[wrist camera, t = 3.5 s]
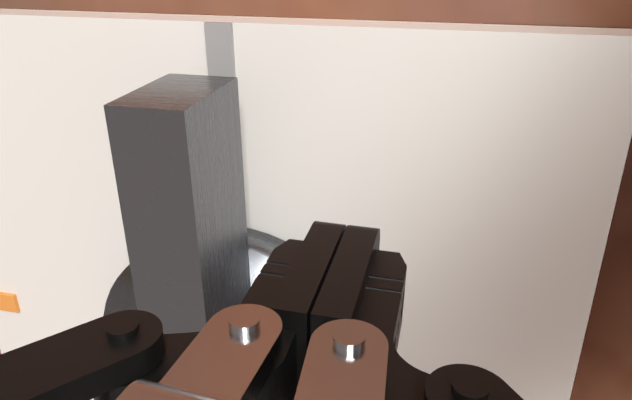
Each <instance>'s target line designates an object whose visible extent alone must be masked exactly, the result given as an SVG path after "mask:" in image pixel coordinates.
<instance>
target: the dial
mask: <svg viewBox="0 0 632 400" xmlns="http://www.w3.org/2000/svg"><path fill="white" fill-rule="evenodd" d="M103 106H104V112H105V118H106V124H107V130H108V136H109V142H110V148H111V154H112V160H113V166H114V172H115V178H116V185H117V191H118V197H119V203H120V209H121V215H122V221H123V227H124V233H125V239H126V245H127V251H128V257H129V263H130V264H129V265H128V266H127V267H126V268H125V269H124V270H123V272H122V273H121V274H120V275H119V276H118V277H117V279H116V281H115V282H114V284H113V286H112V288H111V289H110V292H109V295H108V297H107V300H106V304H105V309H104V315H103V316H105V315H108V314H111V313H114V312H118V311H124V310H142V311H147V312H150V313H152V314H154V315H156V316H157V317H158V318H159V319H160V320H161V322H162V325H163V333H164V334H173V333H189V332H199V331H201V330H202V328H203V327H204V326H205V325H206V323H207V322H208V321H209V320H210V318H211V317H212V316H213V315H215V314H216V313H217V312H219V311H221V310H222V309H225V308H227V307H230V306H234V305H239V304H240V303H241V302H242V300H243V299H244V297H245V295H246V294H247V292H248V290H249V289H250V287H251V286H252V284H253V282H254V281H255V279H256V277H257V276H258V274H260V271H261V269H262V268H263V266H264V264H266V261H267V259H268V258H269V256H270V255H271V253H272V251H273V250H274V248H276V247H278V246H279V245H281V244H282V243H284V242H285V241H284V240H282V239H280V238H277V237H275V236H273V235H270V234H268V233H264V232H261V231H258V230H254V229H251V228H247V220H246V205H245V189H244V173H243V158H242V142H241V126H240V111H239V95H238V79H237V77H224V76H206V75H189V74H172V73H169V74H167V75H165V76H163V77H161V78H159V79H157V80H155V81H152V82H150V83H148V84H146V85H144V86H142V87H140V88H138V89H136V90H134V91H132V92H130V93H128V94H126V95H123V96H121V97H119V98H117V99H115V100H113V101H111V102H109V103H107V104H105V105H103Z"/></svg>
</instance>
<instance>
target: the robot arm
mask: <svg viewBox="0 0 632 400" xmlns="http://www.w3.org/2000/svg"><path fill="white" fill-rule="evenodd" d="M379 247H380V229H379V228H371V227H363V226H354V225H347V226H346V225H345V224H337V223H328V222H320V221H314V222H313V224H312V226H311V228H310V230H309V231H308V233H307V235H306V237H305V239H304V241H303V240H295V239H288V240H287V241H285V242H284V243H282V244H281V245H279V246H278V247H276V248H274V250H273V251H272V253H271V255H270V256H269V258H268V259H267V261H266V264H264V266H263V268H262V269H261V271H260V274H258V276H257V277H256V279H255V281H254V282H253V284H252V286H251V287H250V289H249V290H248V292H247V294H246V295H245V297H244V299H243V300H242V302H241V303H240V304H239V305H234V306H230V307H227V308H225V309H222V310H221V311H219V312H217V313H216V314H215V315H213V316H212V317H211V318H210V320H209V321H208V322H207V323H206V325H205V326H204V327H203V328H202V330H201V331H199V332H189V333H173V334H164V333H163V325H162V322H161V320H160V319H159V318H158V317H157V316H156V315H154V314H152V313H150V312H147V311H142V310H124V311H118V312H114V313H111V314H108V315H105V316H103V317H100V318H97V319H95V320H92V321H89V322H87V323H84V324H81V325H78V326H76V327H73V328H70V329H68V330H65V331H62V332H60V333H57V334H54V335H52V336H49V337H46V338H44V339H41V340H38V341H36V342H33V343H30V344H27V345H25V346H22V347H19V348H17V349H14V350H11V351H9V352H6V353H3V354H1V355H0V400H91V399H93V398H94V400H524V399H523V398H521V397H520V396H519V395H518V394H517V393H516V392H515V391H514V390H513V389H512V388H511V387H510V386H509V385H508V384H507V383H506V382H505V381H503V380H502V379H501V378H500V377H499V376H497V375H496V374H494V373H492V372H490V371H488V370H486V369H484V368H481V367H478V366H474V365H469V364H449V365H445V366H442V367H440V368H437V369H436V370H434V371H433V372H432V373H431V374H428V373H426V372H423V371H421V370H419V369H417V368H415V367H413V366H412V365H410V364H409V363H407V362H406V361H405V360H404V359H403V358H402V357H401V356H400V355H399V354H398V352H397V348H398V342H399V336H400V331H401V325H402V316H403V305H404V294H405V282H406V271H407V265H406V263H405V261H404V260H403V258H402V256H401V254H400V253H398V252H390V251H382V250H379Z"/></svg>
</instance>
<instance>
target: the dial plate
mask: <svg viewBox="0 0 632 400" xmlns="http://www.w3.org/2000/svg"><path fill="white" fill-rule="evenodd" d="M169 73H172V74H189V75H206V76H224V77H237V79H238V95H239V111H240V126H241V142H242V158H243V173H244V189H245V205H246V220H247V228H251V229H254V230H258V231H261V232H264V233H268V234H270V235H273V236H275V237H277V238H280V239H282V240H284V241H287V240H288V239H295V240H303V241H304V239H305V237H306V235H307V233H308V231H309V230H310V228H311V226H312V224H313V222H314V221H320V222H328V223H337V224H345V225H346V226H347V225H354V226H363V227H371V228H379V229H380V247H379V250H382V251H390V252H398V253H400V254H401V256H402V258H403V260H404V261H405V263H406V265H407V271H406V282H405V294H404V305H403V316H402V325H401V331H400V336H399V342H398V348H397V352H398V354H399V355H400V356H401V357H402V358H403V359H404V360H405V361H406V362H407V363H409V364H410V365H412V366H413V367H415V368H417V369H419V370H421V371H423V372H426V373H428V374H431V373H432V372H433V371H434V370H436V369H437V368H440V367H442V366H445V365H449V364H469V365H474V366H478V367H481V368H484V369H486V370H488V371H490V372H492V373H494V374H496V375H497V376H499V377H500V378H501V379H502V380H503V381H505V382H506V383H507V384H508V385H509V386H510V387H511V388H512V389H513V390H514V391H515V392H516V393H517V394H518V395H519V396H520V397H521V398H523V399H524V400H570V396H571V392H572V387H573V383H574V379H575V375H576V370H577V366H578V362H579V357H580V353H581V349H582V345H583V340H584V336H585V332H586V328H587V323H588V319H589V315H590V311H591V306H592V302H593V298H594V294H595V289H596V285H597V281H598V276H599V272H600V268H601V264H602V259H603V255H604V251H605V247H606V242H607V238H608V234H609V230H610V225H611V221H612V217H613V213H614V208H615V204H616V200H617V195H618V191H619V187H620V183H621V178H622V174H623V170H624V166H625V161H626V157H627V153H628V149H629V144H630V140H631V136H632V29H624V28H593V27H561V26H530V25H499V24H467V23H436V22H404V21H373V20H342V19H310V18H279V17H247V16H216V15H185V14H153V13H122V12H90V11H59V10H28V9H0V350H1V353H2V354H3V353H6V352H9V351H11V350H14V349H17V348H19V347H22V346H25V345H27V344H30V343H33V342H36V341H38V340H41V339H44V338H46V337H49V336H52V335H54V334H57V333H60V332H62V331H65V330H68V329H70V328H73V327H76V326H78V325H81V324H84V323H87V322H89V321H92V320H95V319H97V318H100V317H103V315H104V309H105V304H106V300H107V297H108V295H109V292H110V289H111V288H112V286H113V284H114V282H115V281H116V279H117V277H118V276H119V275H120V274H121V273H122V272H123V270H124V269H125V268H126V267H127V266H128V265H129V264H130V263H129V257H128V251H127V245H126V239H125V233H124V227H123V221H122V215H121V209H120V203H119V197H118V191H117V185H116V178H115V172H114V166H113V160H112V154H111V148H110V142H109V136H108V130H107V124H106V118H105V112H104V106H103V105H105V104H107V103H109V102H111V101H113V100H115V99H117V98H119V97H121V96H123V95H126V94H128V93H130V92H132V91H134V90H136V89H138V88H140V87H142V86H144V85H146V84H148V83H150V82H152V81H155V80H157V79H159V78H161V77H163V76H165V75H167V74H169ZM91 400H94V398H93V399H91Z"/></svg>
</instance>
